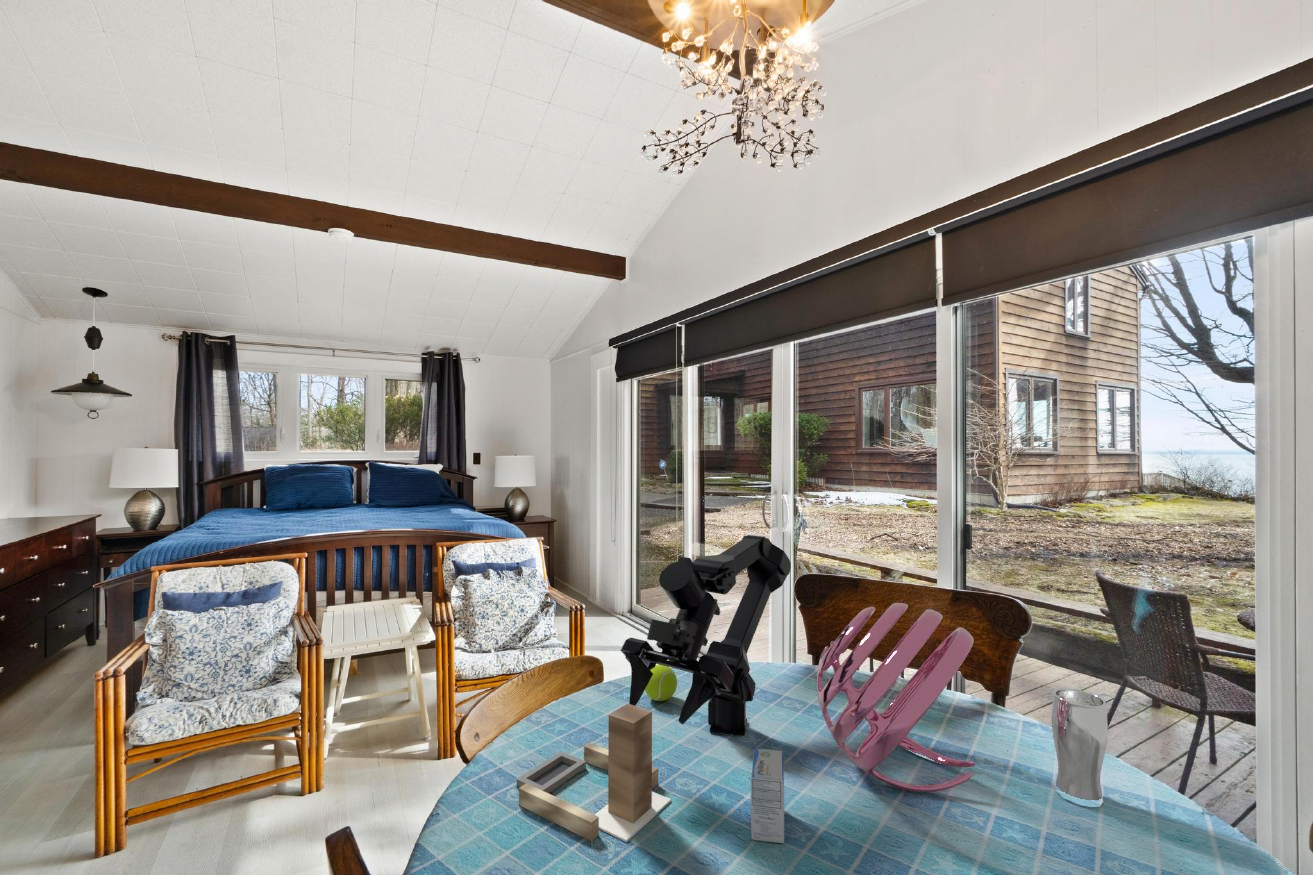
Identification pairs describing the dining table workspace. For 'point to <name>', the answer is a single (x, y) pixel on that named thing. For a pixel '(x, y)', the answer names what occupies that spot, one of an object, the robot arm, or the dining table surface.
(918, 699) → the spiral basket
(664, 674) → the tennis ball
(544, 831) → the dining table surface
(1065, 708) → the beer glass
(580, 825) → the channel
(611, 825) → the pad
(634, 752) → the walnut block
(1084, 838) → the dining table surface
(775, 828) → the medicine box
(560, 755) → the tray
